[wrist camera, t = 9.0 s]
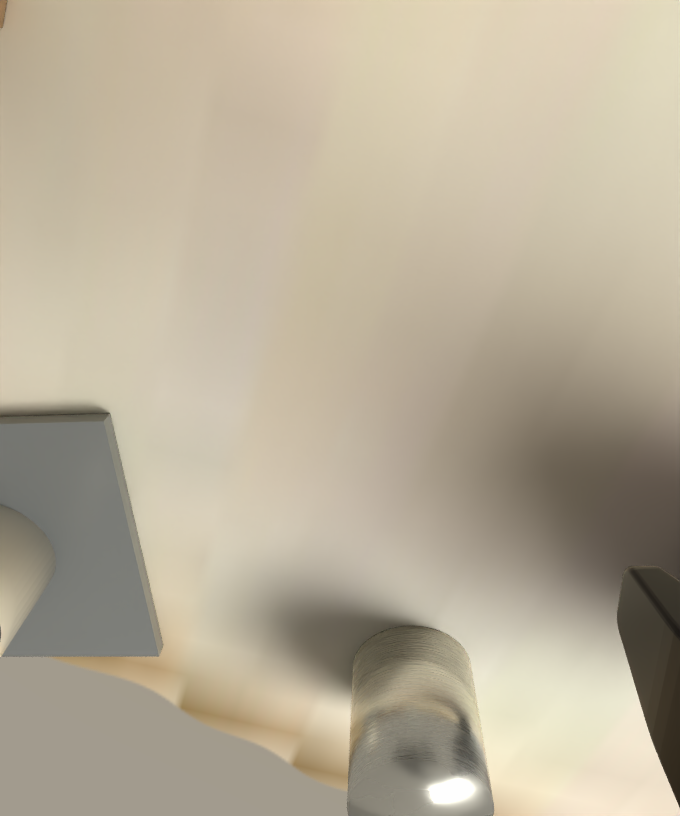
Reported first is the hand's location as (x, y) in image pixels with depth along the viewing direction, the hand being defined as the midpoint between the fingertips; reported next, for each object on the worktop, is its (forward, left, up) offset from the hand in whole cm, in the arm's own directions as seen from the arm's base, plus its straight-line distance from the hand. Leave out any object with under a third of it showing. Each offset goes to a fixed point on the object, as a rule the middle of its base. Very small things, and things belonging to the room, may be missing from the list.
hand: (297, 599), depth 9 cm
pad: (+14, +9, -13) cm, 21 cm away
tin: (-2, +16, -13) cm, 21 cm away
